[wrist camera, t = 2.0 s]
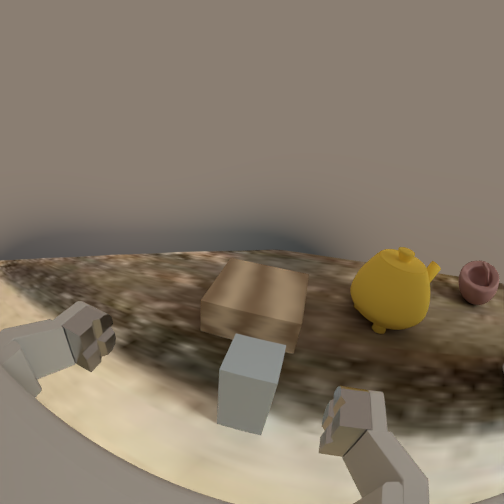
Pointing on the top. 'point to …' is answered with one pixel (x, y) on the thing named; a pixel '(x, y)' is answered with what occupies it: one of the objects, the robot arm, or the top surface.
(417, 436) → the top surface
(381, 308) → the teapot
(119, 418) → the top surface
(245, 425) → the gray block
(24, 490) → the robot arm
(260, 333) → the maple block
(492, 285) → the mortar and pestle
